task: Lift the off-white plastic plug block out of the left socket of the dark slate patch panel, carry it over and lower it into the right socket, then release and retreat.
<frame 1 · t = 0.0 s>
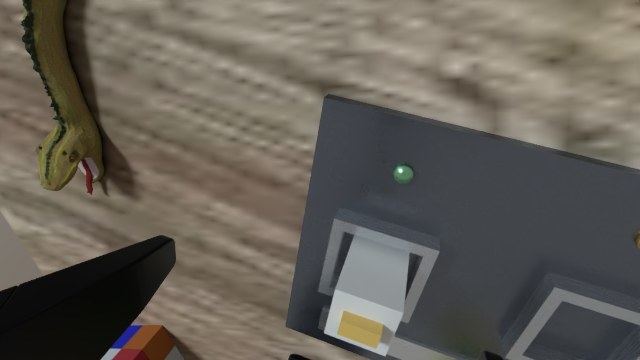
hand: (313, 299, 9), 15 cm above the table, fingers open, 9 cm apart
plug: (375, 259, 25), point 1 cm above the table, touching panel
toy: (154, 351, 44), on the table
panel: (456, 277, 25), on the table
toy 2: (73, 29, 26), on the table
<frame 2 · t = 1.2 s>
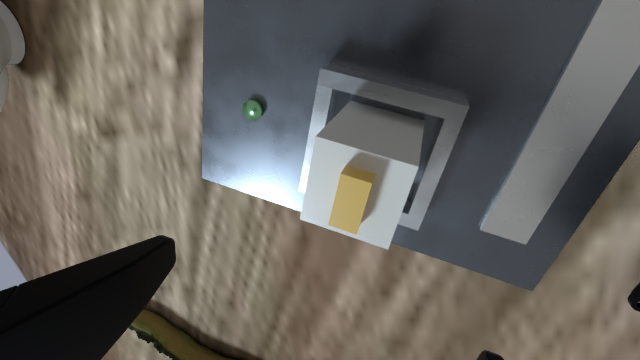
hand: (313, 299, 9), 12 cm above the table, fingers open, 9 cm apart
plug: (376, 144, 19), point 1 cm above the table, touching panel
teapot: (3, 30, 25), on the table
panel: (412, 27, 17), on the table
toy 2: (209, 340, 35), on the table
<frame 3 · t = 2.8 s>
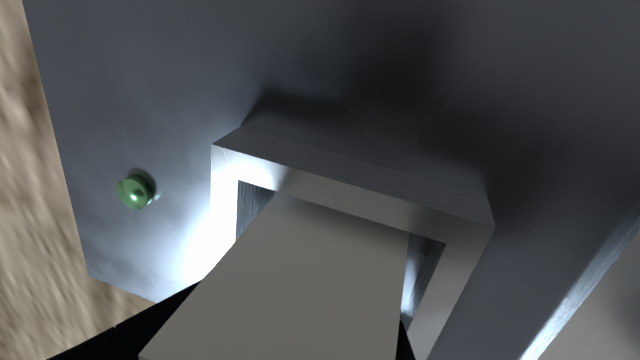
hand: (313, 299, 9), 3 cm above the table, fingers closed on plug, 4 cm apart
plug: (332, 254, 11), point 1 cm above the table, touching gripper, panel
panel: (381, 63, 9), on the table
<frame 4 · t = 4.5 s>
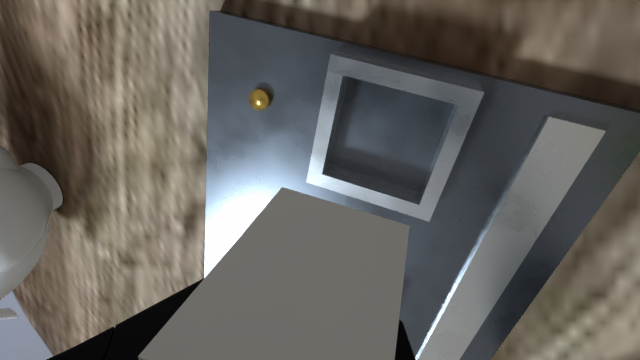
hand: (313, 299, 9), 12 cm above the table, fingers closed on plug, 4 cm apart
plug: (331, 255, 11), point 10 cm above the table, touching gripper
teapot: (45, 185, 31), on the table
panel: (356, 237, 23), on the table
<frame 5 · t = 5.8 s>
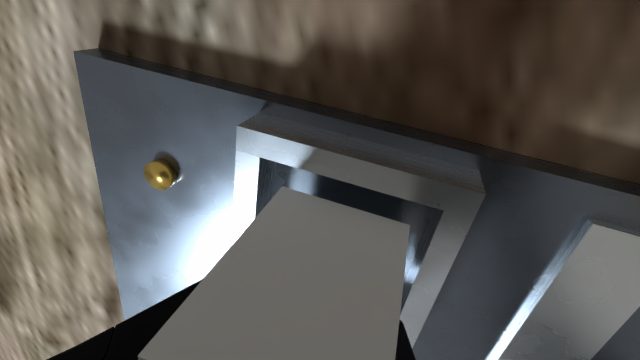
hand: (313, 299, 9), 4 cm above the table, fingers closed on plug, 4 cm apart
plug: (332, 254, 11), point 2 cm above the table, touching gripper
panel: (315, 342, 17), on the table
when the fingers open (3 cm above the table, at t = 6.3 s): plug stays where it is, resting on panel.
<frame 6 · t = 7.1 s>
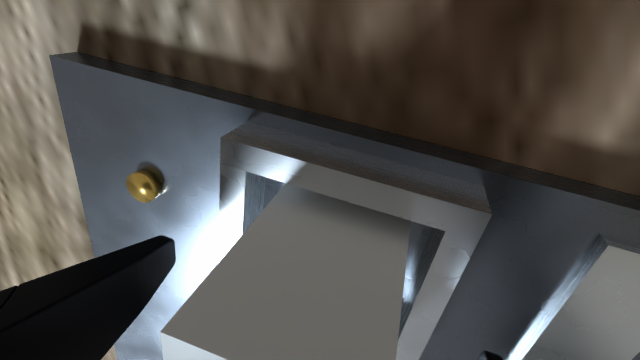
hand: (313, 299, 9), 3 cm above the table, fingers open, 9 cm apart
plug: (336, 246, 12), point 1 cm above the table, touching panel
panel: (310, 359, 16), on the table
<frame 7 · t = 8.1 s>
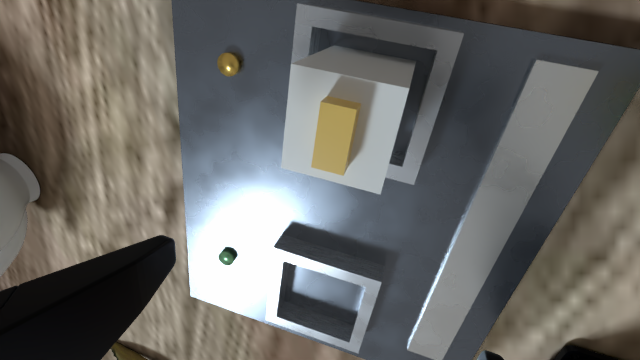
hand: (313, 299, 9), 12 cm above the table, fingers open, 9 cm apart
plug: (365, 94, 17), point 1 cm above the table, touching panel
teapot: (21, 176, 30), on the table
panel: (341, 211, 22), on the table
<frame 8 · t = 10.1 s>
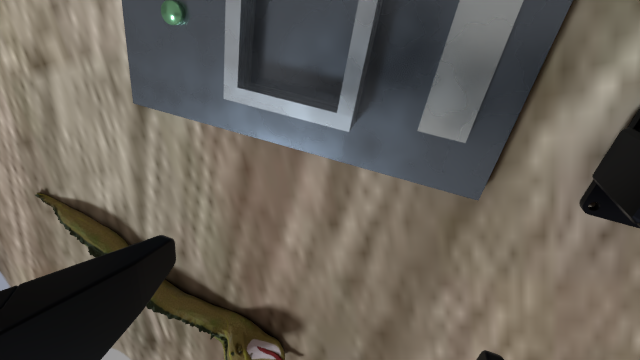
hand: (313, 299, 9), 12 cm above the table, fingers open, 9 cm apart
toy 2: (170, 273, 32), on the table
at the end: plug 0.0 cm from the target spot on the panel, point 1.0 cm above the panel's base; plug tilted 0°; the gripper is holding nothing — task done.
